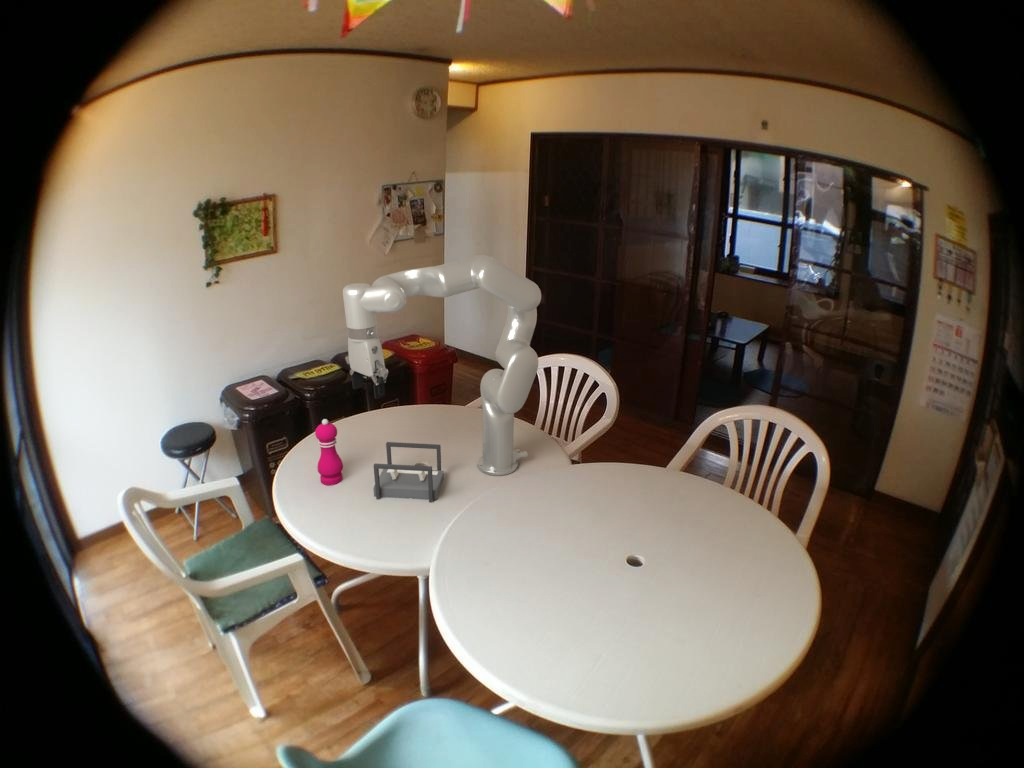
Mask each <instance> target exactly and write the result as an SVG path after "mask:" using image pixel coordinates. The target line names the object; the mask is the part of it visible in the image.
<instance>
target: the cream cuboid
mask: <svg viewBox="0 0 1024 768" xmlns="http://www.w3.org/2000/svg"><path fill="white" fill-rule="evenodd" d="M418 475H419V478H420V481H423V480H424V479H425V476H426V474H425V471H419V473H418Z"/></svg>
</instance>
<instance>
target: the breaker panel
mask: <svg viewBox="0 0 1024 768" xmlns="http://www.w3.org/2000/svg"><path fill="white" fill-rule="evenodd" d="M391 470H392V469H382V471H381V473H379V481H380V493H381V498H394V499H409V498H412V500H428V501H429V488H428V471H425V474H426V476H425V479H424V480H423V481H420V478H419V475H418V473H419V471H412V470H397V471H398V476H397V478H396V479H392V476H391V473H390V472H391ZM432 479H433V501H437V500H438V498H439V494H440V492H441V490H442V487H443V484H444V481H445V472H444V470H442V469H441V470H437V469H435V470H434V469H432ZM372 489H373V497H375V498H376V489H375V484H374V486H373V488H372Z"/></svg>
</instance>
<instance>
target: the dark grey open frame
mask: <svg viewBox="0 0 1024 768" xmlns="http://www.w3.org/2000/svg"><path fill="white" fill-rule="evenodd" d="M385 447H386V461H387V463H374V464H373V473H374V485H375V489H376V497H375V498H376V499H375V500H381V499H382V497H381V493H380V481H379V476H380V470H383V469H393V470H412V471H428V488H429V500H428V503H432V502H433V503H434V500H433V479H432V470H433V466H429V465H428V466H426V465H413V464H412V465H409V464H394V463H393V462H392V461H393V460H392V449H391V447H392V448H408V449H410V448H411V449H428V450H429V449H430V450H436V470H441V471H442V455H441V454H442V452H441V450H442V449H441V448H442V447H441V444H435V443H434V444H433V443H413V442H398V441H397V442H396V441H395V442H394V441H387V442H386V443H385ZM379 469H380V470H379Z"/></svg>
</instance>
